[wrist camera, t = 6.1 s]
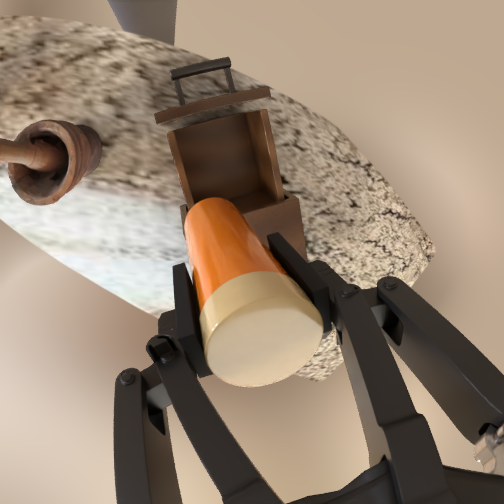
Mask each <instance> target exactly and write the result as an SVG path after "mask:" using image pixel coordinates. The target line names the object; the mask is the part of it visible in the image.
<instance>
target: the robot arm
mask: <svg viewBox="0 0 504 504" xmlns="http://www.w3.org/2000/svg"><path fill="white" fill-rule="evenodd" d="M266 236H267V240H268V245H269V249H270V251H271V252H272V254H273V255H274V256H275V258H276V259H277V260H278V262H279V263H280V264H281V266H282V267H283V268H284V270H285V271H286V272H287V273H288V275H289V276H290V277H291V279H293V280H294V281H295V282H296V283H298V285H299V286H300V287H301V288H302V290H303V291H304V292H305V293H306V295H307V296H308V297H309V299H310V300H311V301H312V303H313V304H314V305H315V306H316V308H317V309H318V310H319V312H320V314H321V316H322V320H323V326H324V330H323V334H324V333H327V332H329V331H331V330H332V323H333V324H334V326H335V327H336V337H337V345H340V348H341V351H342V355H343V358H344V361H345V365H346V368H347V371H348V375H349V378H350V382H351V385H352V389H353V393H354V396H355V400H356V403H357V407H358V411H359V415H360V419H361V422H362V426H363V430H364V434H365V438H366V442H367V447H368V451H369V464H370V468H369V469H368V470H365V471H364V472H363V473H361V474H360V475H359V476H358V477H357V478H355V479H354V480H353V481H352V482H350V483H349V484H348V485H346V486H345V487H344V488H342V489H341V490H338V491H334V492H329V493H324V494H318V495H312V496H307V497H304V498H302V499H299V500H296V501H293V502H290V503H287V504H504V375H503V374H502V373H501V372H500V371H499V370H498V369H497V368H496V367H495V366H494V365H493V364H492V363H491V362H490V361H489V360H488V359H487V358H486V357H485V356H484V355H483V354H482V353H481V352H480V351H479V350H478V349H477V348H476V347H475V346H474V345H473V344H472V343H471V342H470V341H469V340H468V339H467V338H466V337H465V336H464V335H463V334H462V333H461V332H460V331H459V330H457V329H456V328H455V327H454V326H453V325H452V324H451V323H450V322H449V321H448V320H447V319H445V318H444V317H443V316H442V315H441V314H440V313H439V312H438V311H437V310H436V309H434V308H433V307H432V306H431V305H430V304H428V303H427V302H426V301H425V300H424V299H423V298H422V297H421V296H420V295H418V294H417V293H416V292H415V291H414V290H413V289H411V288H410V287H409V286H408V285H407V284H405V283H404V282H403V281H402V280H401V279H399V278H397V277H393V276H387V277H383V278H381V279H380V280H379V281H378V282H377V287H375V288H370V289H361V288H360V287H359V286H357V285H355V284H347V283H346V282H345V281H344V280H343V279H342V278H341V277H340V276H339V275H338V274H337V273H336V272H334V270H333V269H332V268H331V267H330V266H329V265H328V264H327V263H326V262H323V261H320V260H315V261H313V262H310V263H307V262H306V261H305V260H304V259H303V258H302V257H301V255H300V254H299V253H298V252H297V251H296V250H295V249H294V248H293V247H292V246H291V245H290V244H289V243H288V242H287V241H286V240H285V239H284V237H283V236H282V235H281V234H280V233H279V232H275V233H272V234H269V235H266ZM173 285H174V300H175V309H174V310H171V311H168V312H164V313H162V314H161V316H160V318H159V320H158V333H159V334H158V335H155V336H154V337H152V338H151V339H150V340H149V341H148V343H147V345H146V351H147V352H148V354H149V356H150V357H151V359H152V360H153V362H154V363H153V364H152V365H151V366H150V367H148V368H146V369H144V370H143V371H141V372H140V371H139V370H138V369H135V368H129V369H126V370H123V371H122V372H121V373H120V374H119V375H118V377H117V378H116V382H115V398H114V469H115V486H116V497H117V498H116V499H117V504H183V503H182V498H181V494H180V489H179V484H178V479H177V474H176V469H175V463H174V457H173V452H172V445H171V439H170V432H169V425H168V417H167V410H166V407H168V406H169V405H171V404H173V407H174V409H175V411H176V413H177V415H178V417H179V420H180V422H181V423H182V426H183V428H184V430H185V432H186V434H187V436H188V438H189V440H190V441H191V443H192V445H193V447H194V449H195V451H196V452H197V454H198V456H199V458H200V460H201V462H202V463H203V465H204V467H205V469H206V470H207V472H208V474H209V476H210V477H211V479H212V481H213V482H214V484H215V485H216V487H217V489H218V490H219V492H220V494H221V496H222V501H223V503H224V504H284V503H283V501H282V500H281V499H280V498H279V496H278V495H277V494H276V493H275V492H274V490H273V489H272V488H271V487H270V485H269V484H268V483H267V481H266V480H265V479H264V478H263V476H262V475H261V474H260V472H259V471H258V470H257V468H256V467H255V466H254V464H253V463H252V462H251V460H250V459H249V457H248V456H247V455H246V453H245V452H244V451H243V449H242V448H241V446H240V445H239V443H238V442H237V440H236V439H235V438H234V436H233V435H232V433H231V432H230V430H229V429H228V427H227V426H226V424H225V423H224V421H223V420H222V418H221V417H220V415H219V414H218V412H217V410H216V409H215V407H214V406H213V404H212V402H211V401H210V399H209V397H208V396H207V394H206V393H205V391H204V389H203V388H202V386H201V384H200V383H199V381H198V379H197V374H198V376H199V378H202V377H205V376H208V375H212V374H213V373H212V372H211V371H210V369H209V367H208V366H207V363H206V360H205V356H204V351H203V346H202V341H201V336H200V331H199V314H198V309H197V304H196V298H195V293H194V287H193V283H192V281H191V278H190V276H189V273H188V271H187V268H186V265H185V263H181V264H178V265H175V266H173ZM387 342H388V343H389V345H390V346H391V347H392V348H393V349H394V350H395V352H396V353H397V354H398V355H399V356H400V358H401V359H402V360H403V361H404V362H405V364H406V365H407V366H408V367H409V368H410V370H411V371H412V372H413V373H414V374H415V376H416V377H417V378H418V379H419V380H420V382H421V383H422V384H423V386H424V387H425V388H426V389H427V390H428V392H429V393H430V394H431V395H432V397H433V398H434V399H435V400H436V402H437V403H438V404H439V405H440V407H441V408H442V409H443V411H444V412H445V413H446V414H447V416H448V417H449V418H450V420H451V421H452V422H453V424H454V425H455V426H456V427H457V429H458V430H459V431H460V432H461V433H462V434H463V436H464V437H465V438H466V439H468V440H469V441H470V442H471V443H472V444H474V445H475V454H474V458H475V460H476V461H478V462H481V463H482V465H483V467H484V473H483V472H477V471H471V470H465V469H460V468H455V467H450V466H445V465H442V462H441V459H440V456H439V453H438V450H437V447H436V444H435V441H434V439H433V436H432V433H431V430H430V428H429V425H428V422H427V421H426V418H425V417H424V416H423V414H419V413H417V412H416V410H415V407H414V405H413V402H412V400H411V397H410V395H409V392H408V390H407V387H406V385H405V383H404V380H403V378H402V375H401V373H400V371H399V368H398V366H397V364H396V361H395V359H394V357H393V355H392V352H391V350H390V348H389V346H388V343H387Z"/></svg>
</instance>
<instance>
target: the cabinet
mask: <svg viewBox="0 0 504 504" xmlns="http://www.w3.org/2000/svg"><path fill="white" fill-rule="evenodd" d="M283 192H284V198H285V200H282V201H278V202H275V203H271V204H268V205H265V206H261V207H258V208H254V209H251V210H248V211H244V212H241V214H242V215H243V216H244V217H245V219H246V220H247V221H248V223H249V224H250V225H251V227H252V228H253V229H254V230H255V232H256V233H257V234H258V236H259V237H260V238H261V239H262V241H263V242H264V243H265V245H266V246H267V247H268V249H269V245H268V240H267V236H266V235H269V234H272V233H275V232H279V233H280V234H281V235H282V236H283V237H284V239H285V240H286V241H287V242H288V243H289V244H290V245H291V246H292V247H293V248H294V249H295V250H296V251H297V252H298V253H299V254H300V255H301V257H302V258H303V259H304V260H305V261H306V262H307V263H308V260H307V253H306V245H305V238H304V231H303V224H302V218H301V211H300V205H299V199H298V198H297V197H296V196H294V195H293V194H291V193H289V192H288V191H286V190H285V189H283ZM180 210H181V218H182V226H183V234H184V237H185V229H184V224H185V219H186V216H187V214H188V212H189V209H188V206H187V204H186V205H183V206H180ZM185 240H186V237H185ZM269 250H270V249H269Z"/></svg>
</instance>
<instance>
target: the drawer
mask: <svg viewBox="0 0 504 504" xmlns="http://www.w3.org/2000/svg"><path fill="white" fill-rule="evenodd" d="M230 67H231V61H230V58H229V57H226V58H220V59H215V60H210V61H205V62H201V63H196V64H192V65H188V66H184V67H180V68H176V69H172V70H170V76H171V80H172V81H174V84H175V88H176V92H177V96H178V100H179V104H180V106H178V107H175V108H171V109H168V110H165V111H162V112H158V113H155V114H154V115H155V119H156V123H157V124H164V123H167V122H171V121H174V120H177V119H181V118H184V117H188V116H191V115H195V114H199V113H202V112H206V111H210V110H214V109H218V108H223V107H227V106H232V105H236V104H241V103H246V102H251V101H255V100H259V99H263V98H267V97H271V94H270V90H269V87H262V88H257V89H251V90H246V91H240V92H235V88H234V84H233V79H232V75H231V71H230ZM220 69H224V71H225V76H226V80H227V84H228V88H229V92H230V94H226V95H221V96H217V97H213V98H209V99H204V100H200V101H197V102H193V103H189V104H185V102H184V98H183V94H182V90H181V86H180V82H179V79H181V78H185V77H189V76H193V75H197V74H201V73H206V72H210V71H215V70H220ZM167 137H168V141H169V145H170V148H171V152H172V155H173V159H174V162H175V166H176V169H177V173H178V176H179V179H180V183H181V186H182V190H183V193H184V196H185V200H186V203H187V206H188V209H189V211H190V209H191V208H192V207H193V206H194V205H195V204H197V203H198V202H200V201H202V200H204V199H207V198H213V197H216V198H223V199H226V200H228V201H230V202H231V203H233V204H234V205H235V206H236V207H237V208H238V210H239V211H240V212H244V211H248V210H251V209H254V208H258V207H261V206H265V205H268V204H271V203H275V202H278V201H282V200H285V198H284V192H283V187H282V181H281V176H280V171H279V166H278V161H277V156H276V150H275V146H274V141H273V136H272V131H271V126H270V121H269V117H268V112H267V109H262V110H254V111H247V112H243V113H238V114H234V115H229V116H225V117H221V118H217V119H213V120H209V121H205V122H201V123H198V124H194V125H190V126H187V127H183V128H180V129H177V130H173V131H170V132H168V133H167Z"/></svg>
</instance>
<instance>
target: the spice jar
mask: <svg viewBox="0 0 504 504" xmlns="http://www.w3.org/2000/svg"><path fill="white" fill-rule="evenodd" d="M184 229H185V237H186V243H187V250H188V257H189V263H190V269H191V275H192V281H193V287H194V293H195V298H196V304H197V309H198V314H199V331H200V336H201V341H202V346H203V351H204V356H205V360H206V363H207V366H208V367H209V369H210V371H211V372H212V373H213V374H214V375H215V376H216V377H218V378H219V379H220V380H222V381H224V382H226V383H228V384H231V385H235V386H240V387H257V386H264V385H269V384H272V383H275V382H277V381H280V380H283V379H285V378H287V377H289V376H290V375H292V374H294V373H295V372H297V371H298V370H300V369H301V368H302V367H303V366H304V365H305V364H306V363H307V362H308V361H309V360H310V359H311V358H312V357H313V356H314V354H315V353H316V351H317V349H318V348H319V346H320V343H321V341H322V337H323V330H324V326H323V320H322V316H321V314H320V312H319V310H318V309H317V308H316V306H315V305H314V304H313V303H312V301H311V300H310V299H309V297H308V296H307V295H306V293H305V292H304V291H303V290H302V288H301V287H300V286H299V285H298V283H296V282H295V281H294V280H293V279H291V277H290V276H289V275H288V273H287V272H286V271H285V270H284V268H283V267H282V266H281V264H280V263H279V262H278V260H277V259H276V258H275V256H274V255H273V254H272V252H271V251H270V250H269V249H268V247H267V246H266V245H265V243H264V242H263V241H262V239H261V238H260V237H259V236H258V234H257V233H256V232H255V230H254V229H253V228H252V227H251V225H250V224H249V223H248V221H247V220H246V219H245V217H244V216H243V215H242V214H241V212H240V211H239V210H238V208H237V207H236V206H235V205H234V204H233V203H231V202H230V201H228V200H226V199H223V198H216V197H213V198H207V199H204V200H202V201H200V202H198V203H197V204H195V205H194V206H193V207H192V208H191V209H190V211H189V212H188V214H187V216H186V219H185V224H184Z"/></svg>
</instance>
